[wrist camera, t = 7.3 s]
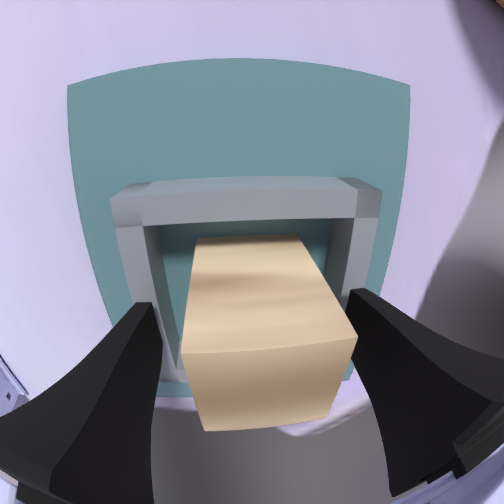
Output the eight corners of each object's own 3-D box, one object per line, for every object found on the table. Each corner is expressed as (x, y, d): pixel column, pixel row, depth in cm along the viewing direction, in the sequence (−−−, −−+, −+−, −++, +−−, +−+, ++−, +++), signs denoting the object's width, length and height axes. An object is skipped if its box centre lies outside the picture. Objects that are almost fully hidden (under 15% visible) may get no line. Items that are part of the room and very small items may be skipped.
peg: (289, 310, 13) (325, 417, 8) (205, 316, 13) (204, 431, 7) (296, 233, 11) (358, 336, 6) (197, 238, 11) (180, 353, 5)
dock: (344, 369, 18) (358, 401, 15) (146, 384, 16) (140, 420, 13) (397, 86, 9) (440, 84, 7) (78, 87, 8) (40, 82, 5)
